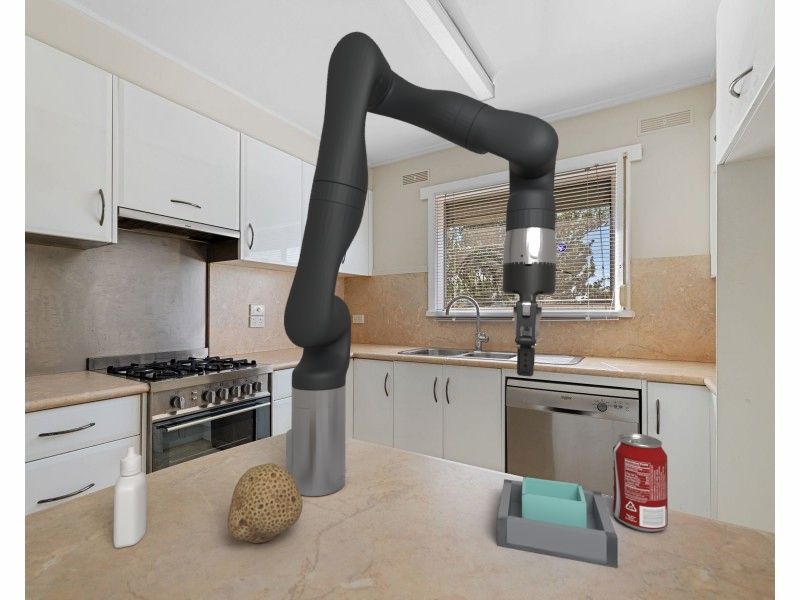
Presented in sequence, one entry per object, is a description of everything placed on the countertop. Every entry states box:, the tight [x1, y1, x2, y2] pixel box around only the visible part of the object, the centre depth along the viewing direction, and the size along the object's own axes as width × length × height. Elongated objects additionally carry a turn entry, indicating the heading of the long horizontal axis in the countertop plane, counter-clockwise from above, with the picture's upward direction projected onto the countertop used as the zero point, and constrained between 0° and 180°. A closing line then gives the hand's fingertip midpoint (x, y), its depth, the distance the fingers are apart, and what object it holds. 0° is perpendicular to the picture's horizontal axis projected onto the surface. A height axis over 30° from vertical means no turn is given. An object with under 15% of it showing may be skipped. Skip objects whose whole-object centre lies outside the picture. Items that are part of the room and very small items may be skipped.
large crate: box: [497, 478, 619, 569], centre depth 57 cm, size 14×13×4 cm
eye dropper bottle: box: [113, 446, 148, 549], centre depth 55 cm, size 4×6×12 cm
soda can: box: [612, 432, 669, 533], centre depth 59 cm, size 7×7×12 cm
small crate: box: [522, 476, 586, 528], centre depth 57 cm, size 8×6×5 cm
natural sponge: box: [227, 462, 303, 544], centre depth 54 cm, size 9×9×10 cm
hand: (526, 370), depth 60 cm, fingers open, 8 cm apart
